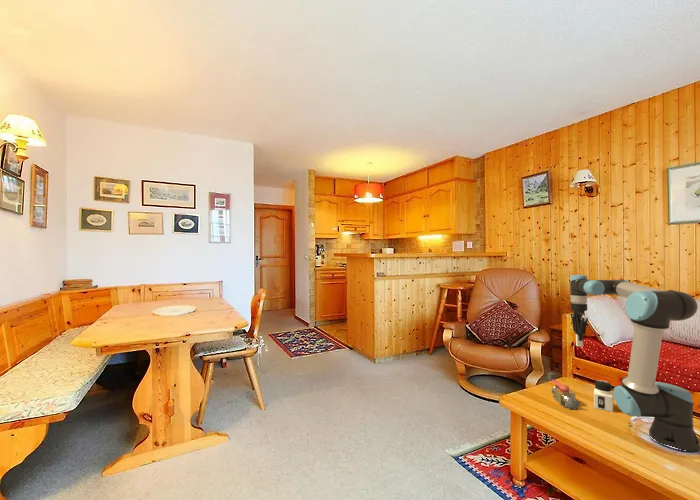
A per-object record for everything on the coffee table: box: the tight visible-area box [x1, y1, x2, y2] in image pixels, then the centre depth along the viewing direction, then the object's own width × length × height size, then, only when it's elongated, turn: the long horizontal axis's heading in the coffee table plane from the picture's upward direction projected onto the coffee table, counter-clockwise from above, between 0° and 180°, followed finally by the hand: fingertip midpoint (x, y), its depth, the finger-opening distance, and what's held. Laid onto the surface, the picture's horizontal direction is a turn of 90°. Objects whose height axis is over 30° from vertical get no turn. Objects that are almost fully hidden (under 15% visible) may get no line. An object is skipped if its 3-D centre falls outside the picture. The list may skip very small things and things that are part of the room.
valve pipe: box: [551, 384, 580, 411], centre depth 175 cm, size 16×7×6 cm, turn 171°
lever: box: [547, 372, 570, 391], centre depth 181 cm, size 16×4×4 cm, turn 178°
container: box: [593, 380, 614, 413], centre depth 170 cm, size 8×8×13 cm
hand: (579, 346), depth 181 cm, fingers closed
